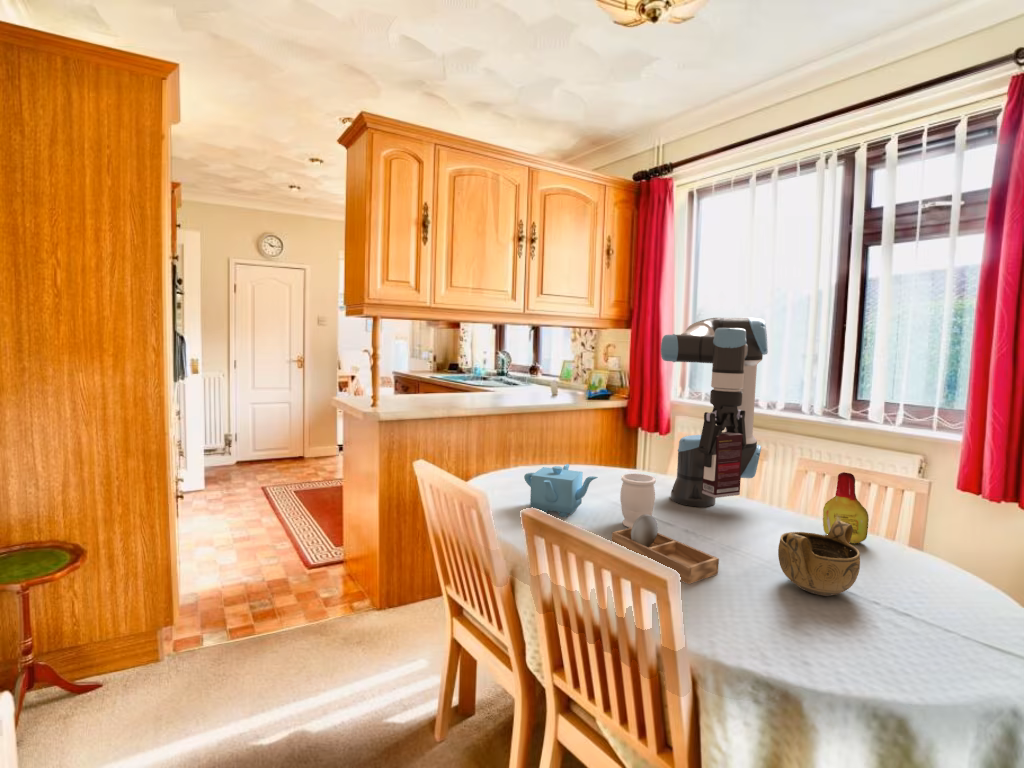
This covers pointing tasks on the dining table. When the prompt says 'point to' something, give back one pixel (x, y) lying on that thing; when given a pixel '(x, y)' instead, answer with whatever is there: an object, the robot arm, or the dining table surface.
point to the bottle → (846, 509)
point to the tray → (666, 550)
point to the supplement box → (725, 467)
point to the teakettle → (557, 489)
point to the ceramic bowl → (820, 560)
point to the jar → (636, 497)
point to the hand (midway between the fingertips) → (721, 477)
